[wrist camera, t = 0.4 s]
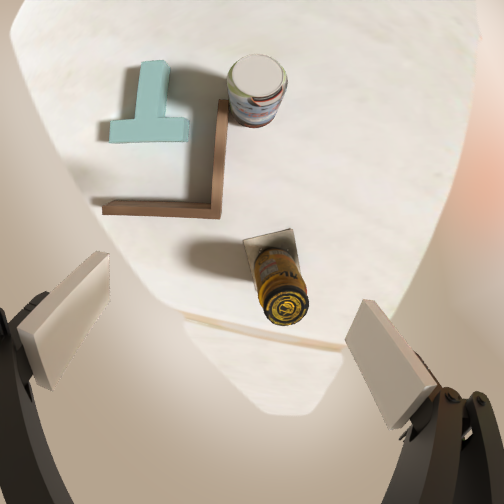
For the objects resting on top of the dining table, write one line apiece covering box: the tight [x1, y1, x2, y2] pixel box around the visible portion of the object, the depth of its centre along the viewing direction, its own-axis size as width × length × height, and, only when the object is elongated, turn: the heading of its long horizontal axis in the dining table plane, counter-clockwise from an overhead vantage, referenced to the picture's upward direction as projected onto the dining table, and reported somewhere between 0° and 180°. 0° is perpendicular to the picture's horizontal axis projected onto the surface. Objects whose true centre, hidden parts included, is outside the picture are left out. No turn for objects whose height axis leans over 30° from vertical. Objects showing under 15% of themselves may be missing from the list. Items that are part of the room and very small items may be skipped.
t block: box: [109, 60, 190, 143], centre depth 30 cm, size 11×10×4 cm
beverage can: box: [227, 54, 288, 128], centre depth 28 cm, size 6×7×12 cm
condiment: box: [243, 229, 309, 326], centre depth 36 cm, size 7×8×12 cm
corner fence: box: [102, 99, 229, 219], centre depth 33 cm, size 15×16×4 cm
